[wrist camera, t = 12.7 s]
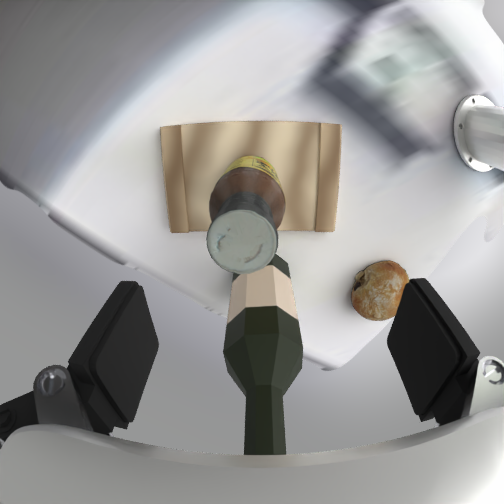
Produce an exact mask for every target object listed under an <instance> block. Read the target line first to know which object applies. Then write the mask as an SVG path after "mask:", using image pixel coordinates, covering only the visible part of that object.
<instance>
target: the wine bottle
mask: <svg viewBox="0 0 504 504" xmlns="http://www.w3.org/2000/svg"><path fill="white" fill-rule="evenodd" d="M223 354H224V358H225V362H226V366H227V371H228V373H229V375H230V376H231V377H232V378H233V380H234V381H235V383H236V384H237V385H238V387H239V388H240V389H241V391H242V392H243V394H244V395H245V396H246V413H245V414H246V415H245V442H244V455H286V444H285V428H284V411H283V395H284V394H285V393H286V391H287V390H288V388H289V387H290V385H291V384H292V382H293V381H294V379H295V378H296V376H297V375H298V373H299V372H300V370H301V369H302V357H303V345H302V339H301V333H300V327H299V322H298V316H297V310H296V305H295V299H294V294H293V289H292V283H291V278H290V273H289V268H288V263H286V262H285V261H284V260H283V259H281V258H280V257H279V256H278V255H276V254H275V255H274V257H273V258H272V260H271V261H270V263H268V264H267V265H266V266H265V267H264V268H263V269H261V270H258V271H256V272H253V273H250V274H237V273H234V274H233V281H232V289H231V296H230V304H229V311H228V319H227V327H226V334H225V342H224V350H223Z"/></svg>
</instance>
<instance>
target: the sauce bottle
mask: <svg viewBox="0 0 504 504" xmlns="http://www.w3.org/2000/svg"><path fill="white" fill-rule="evenodd" d="M285 208H286V200H285V196H284V193H283V189H282V187H281V184H280V181H279V179H278V176H277V173H276V171H275V169H274V167H273V166H272V165H271V164H270V163H269V162H268V161H267V160H265V159H264V158H262V157H258V156H243V157H240V158H238V159H237V160H235V161H234V162H233V163H231V164H230V166H229V167H228V168H227V170H226V171H225V172H224V174H223V175H222V176H221V177H220V179H219V180H218V182H217V183H216V185H215V187H214V189H213V191H212V193H211V196H210V201H209V213H210V218H211V221H212V222H211V224H210V227H209V229H208V233H207V238H206V240H207V248H208V251H209V253H210V255H211V258H212V259H213V260H214V261H215V263H216V264H217V265H219V266H220V267H221V268H223V269H225V270H227V271H229V272H234V273H237V274H250V273H253V272H256V271H258V270H261V269H263V268H264V267H265V266H266V265H267V264H268V263H270V261H271V260H272V258H273V257H274V255H275V253H276V250H277V247H278V234H277V229H278V228H279V226H280V225H281V222H282V219H283V216H284V213H285Z"/></svg>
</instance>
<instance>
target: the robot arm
mask: <svg viewBox="0 0 504 504" xmlns="http://www.w3.org/2000/svg"><path fill="white" fill-rule="evenodd" d="M454 137H455V142H456V146H457V149H458V151H459V154H460V156H461V158H462V159H463V161H464V162H465V163H466V164H467V165H468V166H469V167H470V168H472V169H474V170H476V171H480V172H487V171H489V170H491V169H492V168H497V169H500V170H502V171H504V107H498V106H494V104H493V103H492V102H491V101H490V100H489V99H487V98H485V97H484V96H480V95H469V96H467V97H465V98H464V99H463V100H462V101H461V102H460V104H459V106H458V108H457V110H456V113H455V118H454ZM387 345H388V348H389V350H390V352H391V355H392V357H393V359H394V362H395V364H396V367H397V369H398V371H399V374H400V376H401V379H402V381H403V384H404V386H405V389H406V391H407V394H408V397H409V399H410V402H411V404H412V407H413V410H414V412H415V414H416V415H419V417H420V420H421V422H423V421H426V420H429V419H433V418H434V417H435V419H436V424H435V426H434V428H433V429H429V430H426V431H423V432H420V433H416V434H413V435H410V436H406V437H402V438H398V439H394V440H390V441H386V442H381V443H376V444H371V445H366V446H361V447H354V448H348V449H341V450H335V451H326V452H316V453H306V454H289V455H230V454H213V453H203V452H193V451H184V450H177V449H171V448H165V447H158V446H153V445H148V444H143V443H138V442H133V441H128V440H123V439H120V438H115V437H114V436H113V434H112V431H113V428H114V426H115V427H119V428H123V429H127V427H128V424H129V422H133V420H134V418H135V415H136V411H137V409H138V406H139V402H140V400H141V396H142V394H143V390H144V387H145V385H146V382H147V379H148V376H149V373H150V371H151V368H152V365H153V362H154V359H155V357H156V354H157V351H158V347H159V343H158V338H157V335H156V332H155V329H154V325H153V322H152V319H151V315H150V312H149V308H148V305H147V301H146V298H145V294H144V290H143V287H142V286H139V285H138V283H137V282H136V281H121V282H120V283H119V284H118V286H117V287H116V288H115V290H114V291H113V293H112V294H111V295H110V297H109V298H108V300H107V301H106V303H105V304H104V306H103V307H102V309H101V310H100V312H99V313H98V315H97V316H96V318H95V319H94V321H93V322H92V324H91V325H90V327H89V328H88V330H87V331H86V333H85V335H84V336H83V338H82V339H81V341H80V342H79V344H78V346H77V347H76V349H75V351H74V352H73V354H72V356H71V357H70V359H69V361H68V363H69V365H68V367H67V369H66V368H65V367H63V366H60V365H52V366H48V367H46V368H44V369H43V370H42V371H41V372H39V374H38V375H37V376H36V378H35V381H34V383H33V384H34V385H33V391H31V392H29V393H27V394H25V395H22V396H20V397H18V398H15V399H13V400H11V401H8V402H6V403H3V404H2V405H0V504H504V363H503V362H502V361H501V360H500V359H498V358H496V357H492V356H486V357H484V358H482V359H481V360H480V361H478V359H477V357H478V356H479V354H480V352H479V350H478V349H477V347H476V346H475V344H474V343H473V341H472V340H471V339H470V337H469V335H468V334H467V332H466V331H465V329H464V328H463V327H462V325H461V324H460V323H459V321H458V320H457V319H456V317H455V316H454V314H453V313H452V312H451V310H450V309H449V308H448V306H447V305H446V304H445V302H444V301H443V300H442V298H441V297H440V296H439V295H438V293H437V292H436V291H435V290H434V288H433V287H432V286H431V284H430V283H429V282H428V281H427V280H426V279H425V278H417V279H411V280H410V281H409V282H408V283H406V285H405V287H404V290H403V293H402V297H401V300H400V303H399V306H398V309H397V312H396V315H395V318H394V321H393V324H392V327H391V329H390V332H389V335H388V338H387Z"/></svg>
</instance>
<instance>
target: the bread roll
mask: <svg viewBox="0 0 504 504" xmlns="http://www.w3.org/2000/svg"><path fill="white" fill-rule="evenodd" d="M355 279H356V281H355V283H354V286H353V291H352V296H351V301H352V304H353V307H354V309H355V310H356V311H357V312H358V313H359V314H360V315H361V316H363V317H364V318H366V319H369V320H374V321H383V320H386V319H389V318H392V317H394V316H395V315H396V312H397V309H398V306H399V303H400V300H401V297H402V293H403V290H404V287H405V285H406V283H408V282H409V281H410V280H411V279H410V280H409V277H408V275H407V273H406V270H404V269H403V268H402V267H401V266H400V265H399V264H397V263H395V262H393V261H381V262H378V263H375V264H372V265H370V266H368V267H367V268H366V269H365V270H364V271H360V272H359V273H358V274H357V275H356V277H355Z"/></svg>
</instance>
